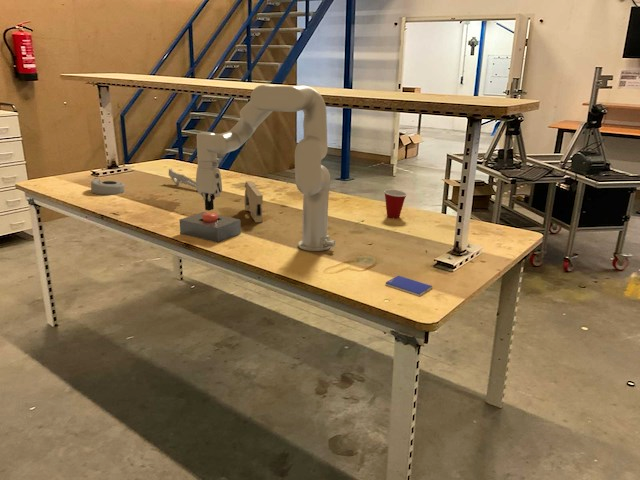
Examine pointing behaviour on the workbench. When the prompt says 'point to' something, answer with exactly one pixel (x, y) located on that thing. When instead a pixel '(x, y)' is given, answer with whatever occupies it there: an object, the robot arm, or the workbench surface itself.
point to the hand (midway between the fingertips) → (209, 209)
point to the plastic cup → (394, 202)
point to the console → (210, 227)
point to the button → (209, 217)
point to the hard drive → (408, 285)
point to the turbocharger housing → (106, 187)
